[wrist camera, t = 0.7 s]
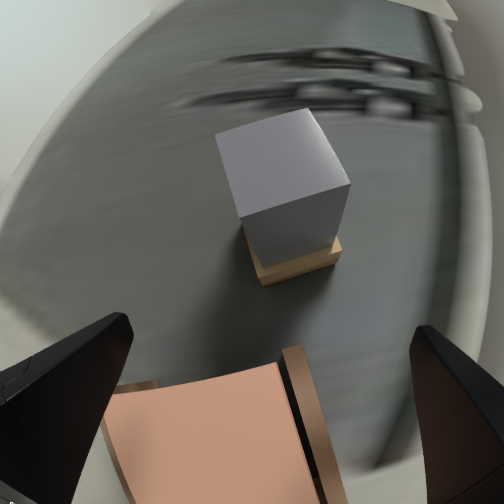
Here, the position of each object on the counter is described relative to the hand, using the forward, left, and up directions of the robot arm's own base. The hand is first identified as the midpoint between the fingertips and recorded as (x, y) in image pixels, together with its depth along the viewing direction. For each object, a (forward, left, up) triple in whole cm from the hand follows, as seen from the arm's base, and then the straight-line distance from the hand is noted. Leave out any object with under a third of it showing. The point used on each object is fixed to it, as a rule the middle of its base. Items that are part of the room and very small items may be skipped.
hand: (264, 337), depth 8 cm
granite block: (+7, -3, -10) cm, 13 cm away
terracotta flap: (-6, +5, -6) cm, 10 cm away
